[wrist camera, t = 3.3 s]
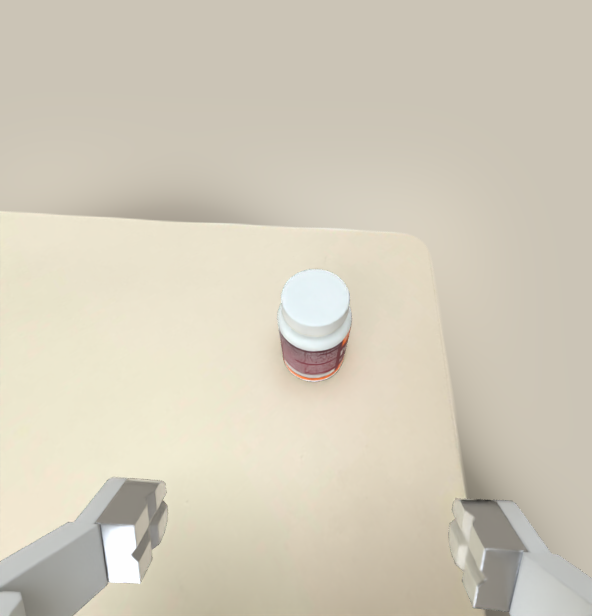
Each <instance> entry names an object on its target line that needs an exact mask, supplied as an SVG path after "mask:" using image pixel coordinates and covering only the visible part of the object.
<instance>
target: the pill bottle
mask: <svg viewBox="0 0 592 616" xmlns="http://www.w3.org/2000/svg"><path fill="white" fill-rule="evenodd" d="M349 303H350V294H349V290H348V288H347V286H346V284H345V283H344V281H343V280H342V279H341V278H339V277H338V276H337V275H335V274H333V273H331V272H329V271H325V270H321V269H309V270H304V271H301V272H299V273H297V274H295V275H294V276H292V277H291V278H290V279H289V280H288V281H287V282H286V284H285V285H284V288H283V290H282V294H281V304H280V307H279V309H278V314H277V320H278V327H279V334H280V340H281V347H282V354H283V359H284V363H285V365H286V367H287V368H288V370H289V371H290V372H291V373H292V374H293V375H295V376H296V377H298V378H299V379H302V380H305V381H310V382H317V381H323V380H326V379H328V378H330V377H331V376H333V375H334V374H335V373H336V372H337V371H338V370H339V368H340V367H341V365H342V362H343V359H344V354H345V351H346V346H347V342H348V337H349V333H350V328H351V323H352V313H351V309H350V306H349Z"/></svg>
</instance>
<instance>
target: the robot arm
mask: <svg viewBox="0 0 592 616" xmlns="http://www.w3.org/2000/svg"><path fill="white" fill-rule="evenodd" d="M166 493H167V491H166V483H165V482H164V481H160V480H148V479H137V478H121V477H112V478H110V479H108V480H107V481H106V483H105V484H104V485H103V486H102V488H101V489H100V490H99V491H98V493H97V494H96V495H95V496H94V498H93V499H92V500H91V501H90V503H89V504H88V505H87V506H86V508H85V509H84V510H83V511H82V513H81V514H80V515H79V516H78V518H77V519H76V520H75V521H74V522H68V523H66V524H64V525H62V526H61V527H59V528H57V529H55V530H54V531H52V532H50V533H48V534H47V535H45V536H43V537H42V538H40V539H38V540H36V541H35V542H33V543H31V544H29V545H28V546H26V547H24V548H22V549H21V550H19V551H17V552H16V553H14V554H12V555H10V556H9V557H7V558H5V559H3V560H2V561H0V616H73V615H74V614H76V613H77V612H78V611H79V610H80V609H81V608H82V607H83V606H84V605H85V604H87V603H88V602H89V601H90V600H91V599H92V598H93V597H94V596H95V595H96V594H98V593H99V592H100V591H101V590H102V589H103V588H104V587H105V586H106V585H107V584H108V582H117V583H141V582H142V580H143V577H144V575H145V573H146V571H147V569H148V567H149V565H150V563H151V561H152V549H154V548H155V547H156V546H157V545H159V544H160V542H161V540H162V538H163V536H164V533H165V529H166V526H167V521H168V506H167V504H166V503H165V502H164V501H163V499H164V497H165V495H166ZM452 512H453V514H454V516H455V519H454V520H453V521H452V522H451V523H450V524H449V532H448V536H449V546H450V550H451V554H452V557H453V559H454V562H455V564H456V565H457V566H458V567H459V568H460V569H461V570H462V571H463V578H462V582H463V585H464V587H465V589H466V592H467V594H468V597H469V599H470V602H471V604H472V607H473V608H477V609H486V610H496V611H505V612H509V614H510V615H511V616H592V578H591V577H589V576H588V575H587V574H585V573H584V572H583V571H581V570H580V569H578V568H577V567H575V566H574V565H572V564H571V563H569V562H568V561H567V560H565V559H564V558H562V557H561V556H560V555H558V554H552V553H551V552H550V551H549V549H548V548H547V546H546V545H545V544H544V542H543V541H542V539H541V538H540V537H539V535H538V534H537V532H536V531H535V529H534V528H533V527H532V525H531V524H530V522H529V521H528V520H527V518H526V517H525V515H524V514H523V512H522V511H521V510H520V508H519V507H518V505H517V504H516V503H514V502H513V501H508V500H480V499H461V498H455V500H454V502H453V505H452Z"/></svg>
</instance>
